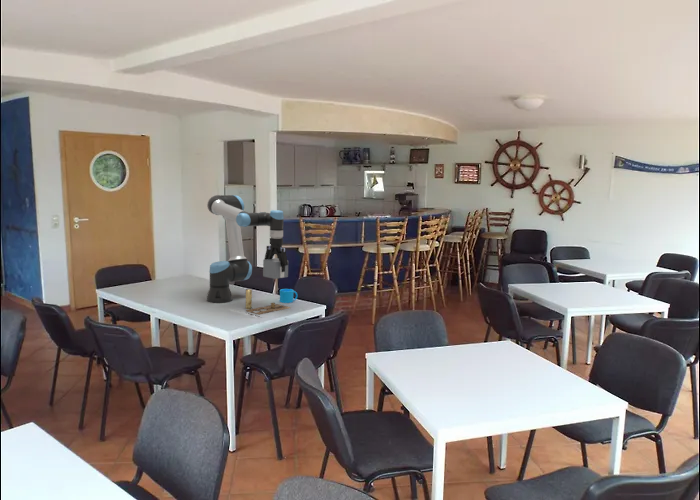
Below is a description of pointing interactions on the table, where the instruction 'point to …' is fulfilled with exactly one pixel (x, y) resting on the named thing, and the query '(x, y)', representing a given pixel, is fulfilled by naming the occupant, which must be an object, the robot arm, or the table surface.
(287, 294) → the mug
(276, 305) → the board
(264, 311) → the build board
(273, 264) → the block
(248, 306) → the peg
